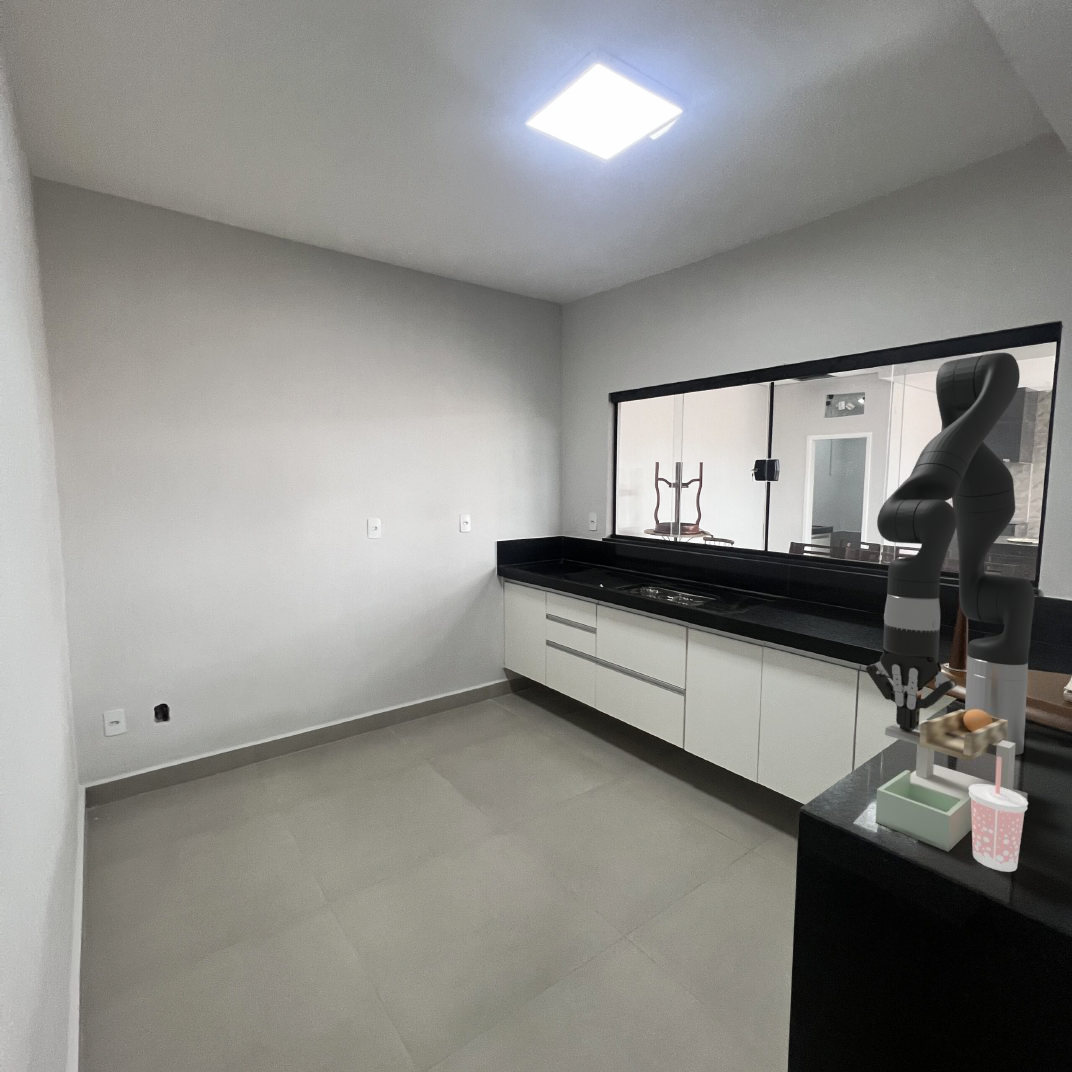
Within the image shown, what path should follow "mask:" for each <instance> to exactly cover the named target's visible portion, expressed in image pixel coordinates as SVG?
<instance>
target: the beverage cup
mask: <svg viewBox="0 0 1072 1072" xmlns="http://www.w3.org/2000/svg"><path fill="white" fill-rule="evenodd" d="M1001 762H1002V758H1001V757H997V769H996V768H995V769H996V786H995V785H990V784H973V785H971V786H970V787H969V796H970V797H971V813H972V829H971V839H972V843H971V844H972V856H973V858H974V859H975V861H977V862H978V863H980V864H982V865H983V866H985V867H987V868H990V869H992V870H996V871H999V872H1008V873H1010V872H1014V871H1015V872H1016V870H1017V869H1018V863H1019V856H1020V855H1019V854H1020V847H1021V846H1020V845H1021V841H1022V840H1021V839H1022V833H1023V825H1024V817H1025V812H1026V811H1027V810H1028V805H1029V802H1028V799H1027V800H1026V798H1024V797H1023V796H1022V795H1020V794H1018V793H1016V792H1014V791H1012V790H1009V789H1006V788H1003V787H1000V783H1001Z"/></svg>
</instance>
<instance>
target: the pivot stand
mask: <svg viewBox="0 0 1072 1072" xmlns="http://www.w3.org/2000/svg"><path fill="white" fill-rule="evenodd" d="M926 721H929V720H927V719H924V720H922V721H919V725H918V727H917V730H918V731H920V729H921V723H924V722H926ZM1015 744H1016V743H1012V742H1008V741H1005V740H1002V741H1001V742H1000V743H998V744H997V749H996V755H995V768H994V769H995V770H994V771H995V772H994V774H995V775H994V782H992V781H990V780H986V779H983V778H980V777H976V776H973V775H969V774H967V773H964V772H961V771H957V770H954V769H950V768H948V767H945V766H941V765H938V764H935V751H934V750H930V749H927V748H923V747H920V746H919V745H918V744H916V757H915V758H916V760H915V770H913V771H912V772H911V777H910V782H912V783H915V784H918V785H921V786H924V787H927V788H930V789H933V790H936V791H939V792H942V793H944V794H947V795H950V796H953V797H956V798H959V799H963V798H964V797H965V796H966V795H968V794H969V787H970V786H971V785H973V784H990V785H995V786H996V769H997V757H1001V758H1002V762H1001V783H1000V787H1003V788H1006V789H1009V790H1012V791H1014V792H1016V793H1018V794H1020V795H1022V796H1023V797H1024V798H1026V800H1027V801H1028V793H1027V792H1025V791H1021V790H1019V789H1015V788H1014V784H1015V783H1014V781H1015V780H1014V779H1015V762H1016V755H1015Z"/></svg>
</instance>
